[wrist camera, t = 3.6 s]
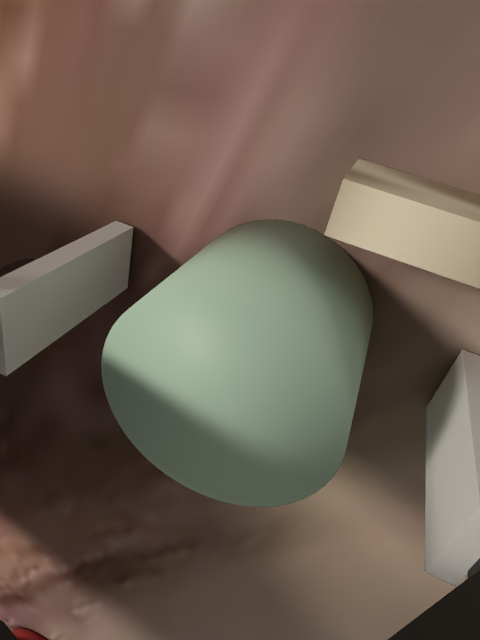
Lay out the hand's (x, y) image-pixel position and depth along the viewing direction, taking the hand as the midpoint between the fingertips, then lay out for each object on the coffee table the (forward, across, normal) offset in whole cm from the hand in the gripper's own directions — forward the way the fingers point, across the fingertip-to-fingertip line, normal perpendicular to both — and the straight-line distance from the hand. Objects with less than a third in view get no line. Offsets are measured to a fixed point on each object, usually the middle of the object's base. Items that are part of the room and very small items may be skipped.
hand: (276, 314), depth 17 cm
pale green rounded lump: (0, 0, 0) cm, 0 cm away
